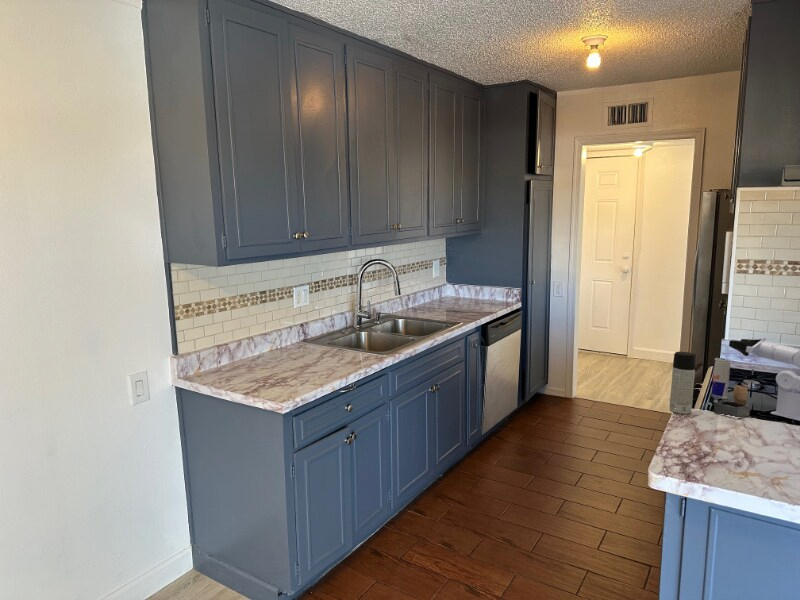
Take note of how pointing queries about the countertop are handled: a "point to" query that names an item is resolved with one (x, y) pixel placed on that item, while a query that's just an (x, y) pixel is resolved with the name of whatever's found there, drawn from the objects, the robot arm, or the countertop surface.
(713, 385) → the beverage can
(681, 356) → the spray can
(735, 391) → the peg
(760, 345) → the robot arm
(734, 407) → the socket
